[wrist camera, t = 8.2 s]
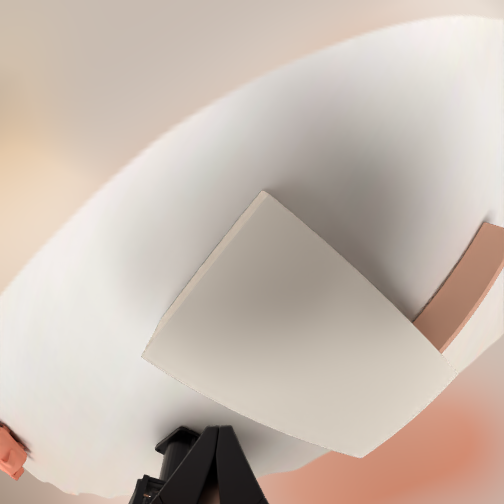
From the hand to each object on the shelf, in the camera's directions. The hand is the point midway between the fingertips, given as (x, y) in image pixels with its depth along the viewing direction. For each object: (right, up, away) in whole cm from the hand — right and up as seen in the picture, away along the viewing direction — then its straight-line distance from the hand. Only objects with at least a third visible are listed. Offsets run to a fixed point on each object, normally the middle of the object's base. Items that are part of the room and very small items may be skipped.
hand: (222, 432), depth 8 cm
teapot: (-46, -29, +19) cm, 57 cm away
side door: (+19, +4, +12) cm, 23 cm away
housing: (+6, -1, +13) cm, 14 cm away
